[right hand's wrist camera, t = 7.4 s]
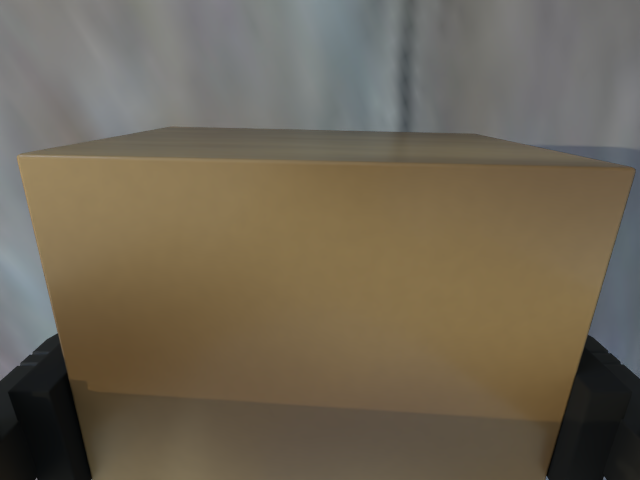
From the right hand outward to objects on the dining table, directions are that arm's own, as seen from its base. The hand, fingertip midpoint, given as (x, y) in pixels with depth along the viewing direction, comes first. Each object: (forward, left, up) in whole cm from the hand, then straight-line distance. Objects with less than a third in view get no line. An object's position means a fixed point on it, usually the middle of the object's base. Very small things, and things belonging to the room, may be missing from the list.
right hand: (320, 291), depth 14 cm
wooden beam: (+17, +30, -1) cm, 34 cm away
